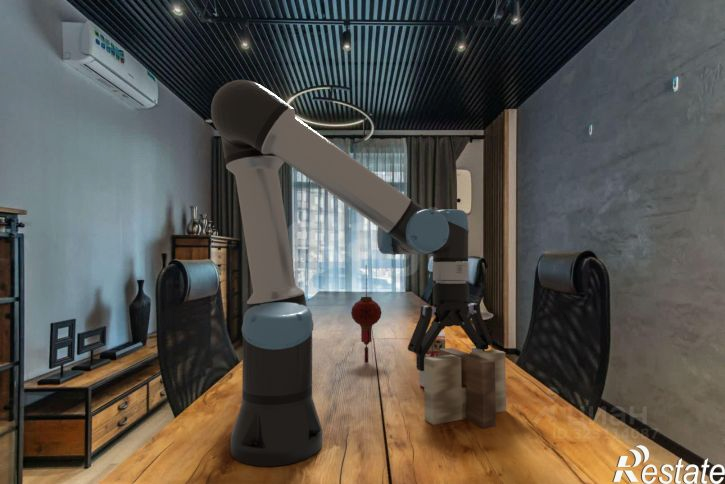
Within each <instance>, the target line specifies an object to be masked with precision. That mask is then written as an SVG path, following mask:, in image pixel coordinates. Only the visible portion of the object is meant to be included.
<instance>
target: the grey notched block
mask: <svg viewBox="0 0 725 484" xmlns="http://www.w3.org/2000/svg"><path fill="white" fill-rule="evenodd" d="M469 354H472V355H475V356H479V357H482V358H485V359H488V360H492V361H495V397H496V414H497V413H502V412H506V411H507V390H506V389H507V388H506V387H507V385H506V384H507V382H506V381H507V379H506V373H507V371H506V352H505V351H503V350H502V351H501V350H498V349H489V350H488V349H487V350H485V351H478V352H472V351H471V352H469ZM423 389H424V420H425V421H426V422H428V423H430V424H431V425H433V426H434V425H441V424H445V423H450V422H455V421H459V420H460V421H461V420H465V419H466V420H467V386H465V385H462V379H461V357H458V356H455V355H444V356H435V357H426V358H424V387H423Z"/></svg>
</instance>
